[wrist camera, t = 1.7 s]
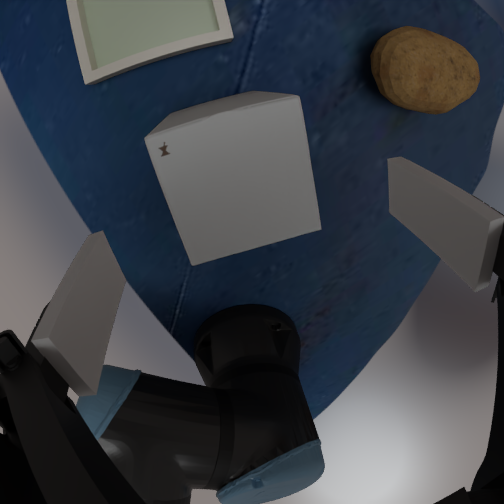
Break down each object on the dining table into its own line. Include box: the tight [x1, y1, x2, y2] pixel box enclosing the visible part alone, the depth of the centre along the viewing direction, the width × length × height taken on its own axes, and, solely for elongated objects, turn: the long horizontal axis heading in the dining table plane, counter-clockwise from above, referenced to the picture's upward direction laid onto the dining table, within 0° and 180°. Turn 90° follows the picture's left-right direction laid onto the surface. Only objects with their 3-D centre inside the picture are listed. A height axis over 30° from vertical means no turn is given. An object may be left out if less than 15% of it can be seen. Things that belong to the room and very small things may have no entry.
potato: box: [370, 26, 480, 114], centre depth 25 cm, size 10×14×8 cm
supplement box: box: [145, 91, 321, 266], centre depth 24 cm, size 9×9×15 cm
